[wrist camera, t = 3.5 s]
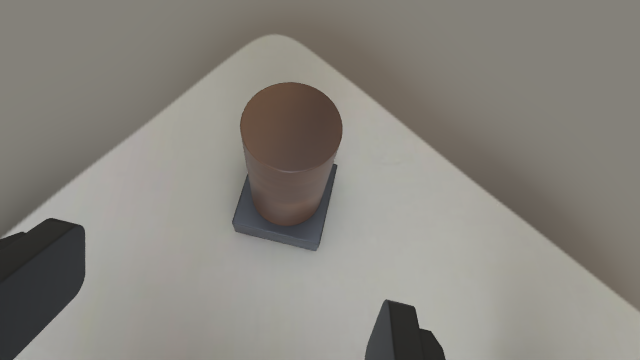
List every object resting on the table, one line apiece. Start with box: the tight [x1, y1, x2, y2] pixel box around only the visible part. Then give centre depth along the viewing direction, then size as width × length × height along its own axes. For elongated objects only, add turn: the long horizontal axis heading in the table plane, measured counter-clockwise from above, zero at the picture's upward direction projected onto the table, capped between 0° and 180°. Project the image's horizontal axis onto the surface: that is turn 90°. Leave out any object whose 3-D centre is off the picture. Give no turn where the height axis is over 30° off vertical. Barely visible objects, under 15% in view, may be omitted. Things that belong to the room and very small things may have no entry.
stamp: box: [232, 82, 342, 251], centre depth 20 cm, size 5×5×10 cm
